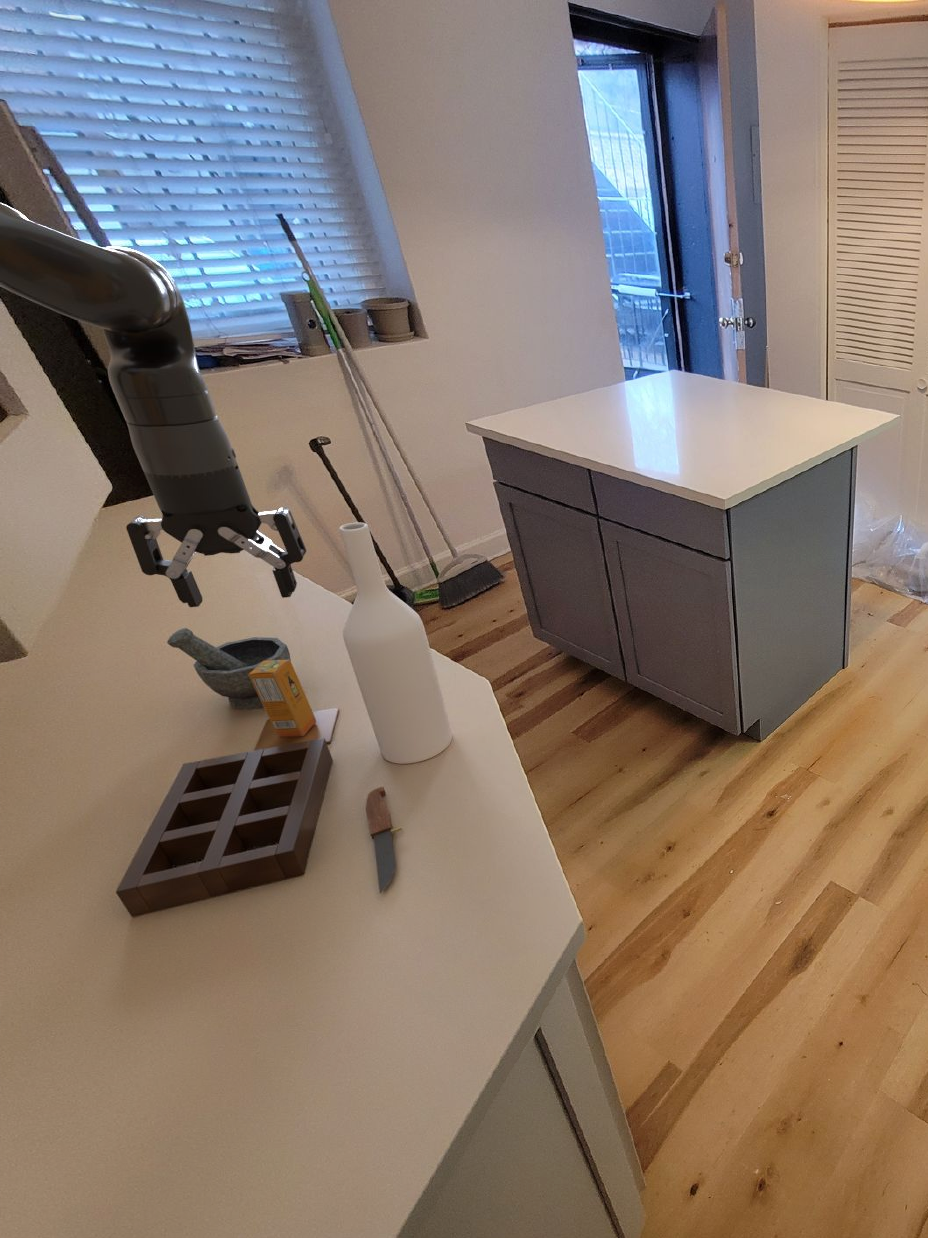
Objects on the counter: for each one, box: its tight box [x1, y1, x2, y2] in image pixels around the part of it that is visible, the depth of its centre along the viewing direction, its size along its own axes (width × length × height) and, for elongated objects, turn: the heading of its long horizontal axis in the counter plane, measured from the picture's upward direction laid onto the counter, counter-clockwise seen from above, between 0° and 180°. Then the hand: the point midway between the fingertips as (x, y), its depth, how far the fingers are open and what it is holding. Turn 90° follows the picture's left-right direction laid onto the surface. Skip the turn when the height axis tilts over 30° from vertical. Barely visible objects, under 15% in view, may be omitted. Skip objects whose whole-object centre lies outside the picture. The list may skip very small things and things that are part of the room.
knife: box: [365, 786, 404, 894], centre depth 75 cm, size 17×1×3 cm
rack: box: [115, 738, 334, 918], centre depth 75 cm, size 14×20×4 cm
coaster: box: [253, 707, 340, 751], centre depth 90 cm, size 8×8×1 cm
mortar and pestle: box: [166, 627, 292, 710], centre depth 93 cm, size 11×9×12 cm
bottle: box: [338, 521, 453, 765], centre depth 82 cm, size 8×8×30 cm
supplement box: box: [248, 660, 316, 737], centre depth 87 cm, size 3×3×10 cm
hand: (243, 599), depth 80 cm, fingers open, 8 cm apart
